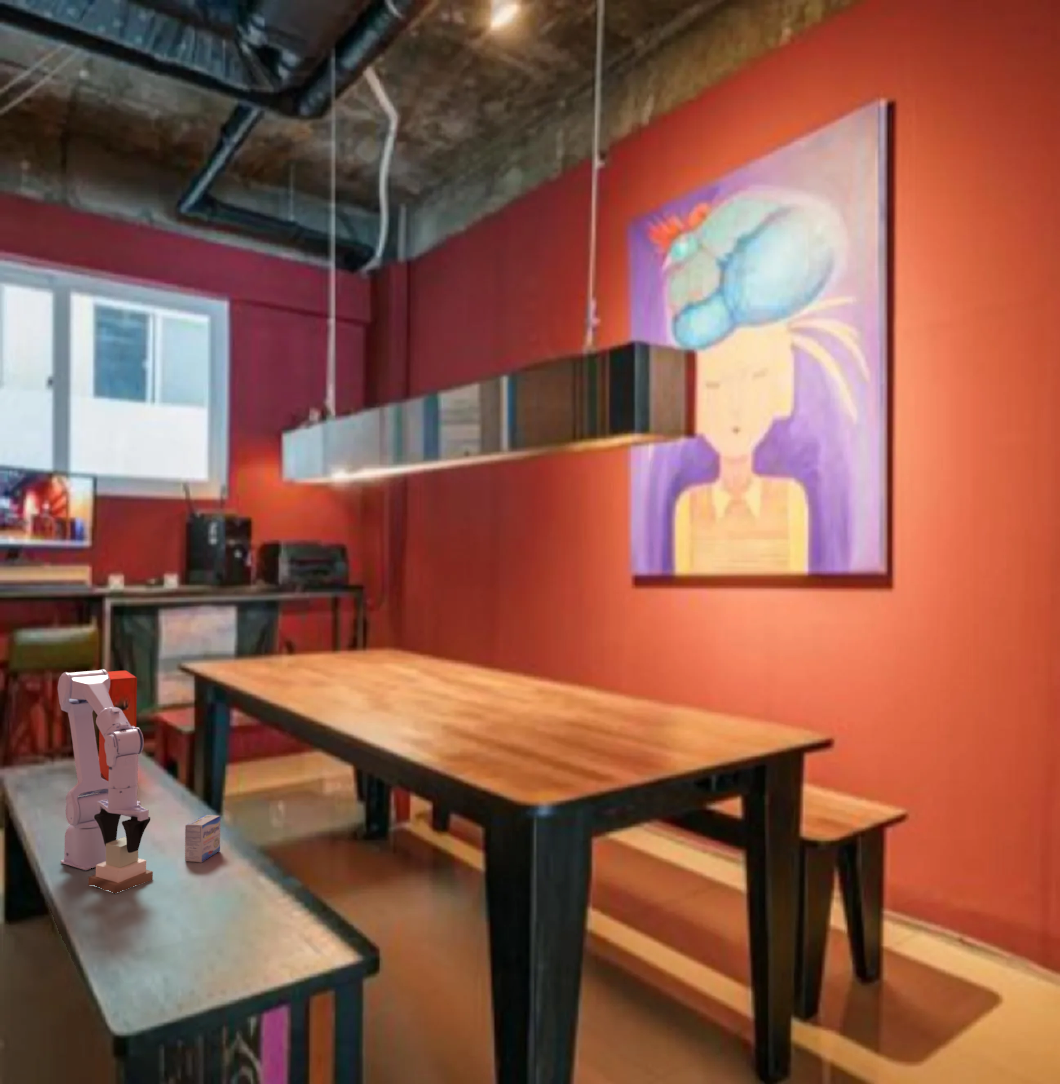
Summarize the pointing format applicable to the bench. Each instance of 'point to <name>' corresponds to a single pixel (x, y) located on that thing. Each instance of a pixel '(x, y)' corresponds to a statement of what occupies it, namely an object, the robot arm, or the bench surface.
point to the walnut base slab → (121, 885)
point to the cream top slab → (120, 871)
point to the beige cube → (119, 853)
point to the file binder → (123, 698)
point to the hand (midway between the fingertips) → (121, 848)
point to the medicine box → (202, 838)
